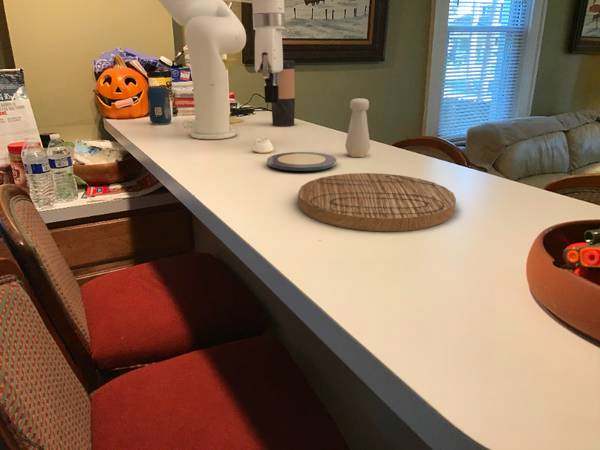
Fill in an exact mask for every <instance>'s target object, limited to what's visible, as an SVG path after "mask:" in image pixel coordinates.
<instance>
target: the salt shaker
mask: <svg viewBox="0 0 600 450" xmlns="http://www.w3.org/2000/svg"><path fill="white" fill-rule="evenodd" d="M369 108H370V101H369V100H368V99H367V98H362V97H361V98H359V97H358V98H353V99H351V100H350V101H349V109H350V110H351V116H350V121H349V125H348V131H347V136H346V140H345V149H346V152H347V156H349V157H351V158H364V157H365V158H366V157H367V155H368V152H369V151H370V149H371V141H370V133H369V124H368V116H367V110H369Z"/></svg>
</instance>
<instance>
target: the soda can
mask: <svg viewBox="0 0 600 450" xmlns="http://www.w3.org/2000/svg"><path fill="white" fill-rule="evenodd" d="M146 96H147V104H148V106H147V107H148V114H149V121H150V122H151V124H152V125H156V126H157V125H158V126H161V125H163V126H164V125H169V124H171V121H172V109H171V99H170V91H169V89H168V88H167V85H148V88H147V91H146Z"/></svg>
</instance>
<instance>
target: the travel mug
mask: <svg viewBox="0 0 600 450" xmlns="http://www.w3.org/2000/svg"><path fill="white" fill-rule="evenodd" d="M270 72H272V71H270ZM278 74H279V75H278V85H276V86H278V89H279V102H277V103H270V104H271V119H272V122H271V123H272V126H274V127H293V126H295V114H296V113H295V112H296V111H295V109H296V108H295V107H296V87H295V86H296V84H295V83H296V82H295V81H296V79H295V60H293V59H292V60H290V59H287V60H285V59H283V69H282V71H281V72H278Z"/></svg>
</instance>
